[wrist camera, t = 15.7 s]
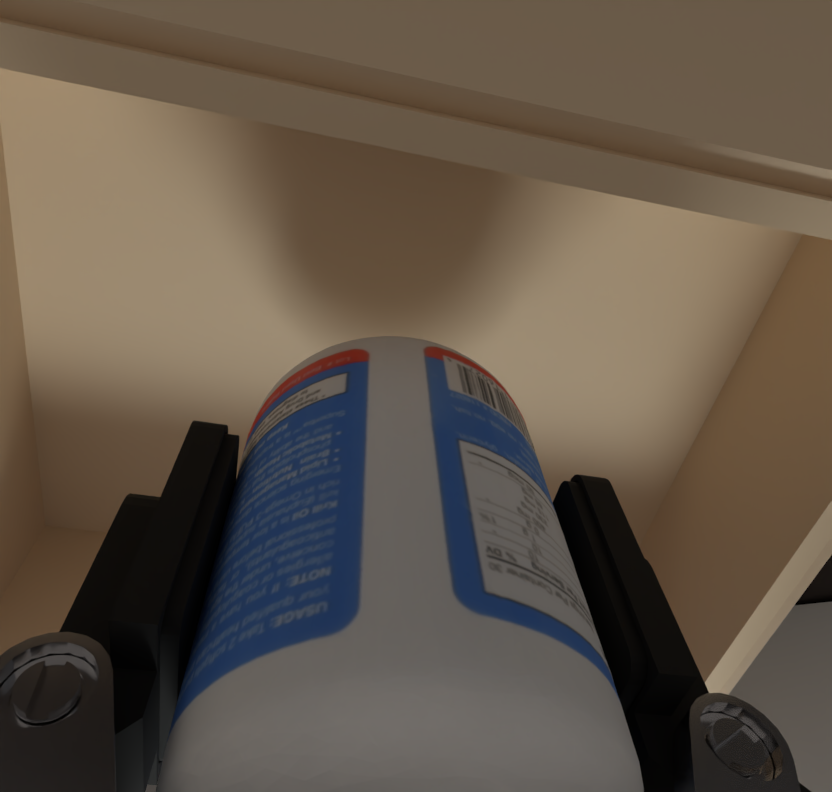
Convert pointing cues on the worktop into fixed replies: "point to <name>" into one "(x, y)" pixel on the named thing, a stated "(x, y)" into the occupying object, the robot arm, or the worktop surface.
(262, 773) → the pill bottle
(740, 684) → the milk carton
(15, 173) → the carton
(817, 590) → the worktop surface
